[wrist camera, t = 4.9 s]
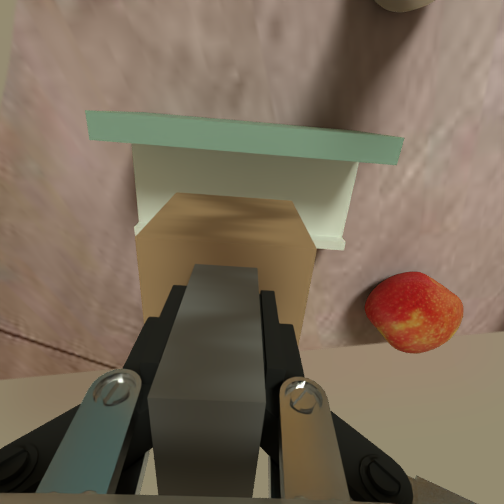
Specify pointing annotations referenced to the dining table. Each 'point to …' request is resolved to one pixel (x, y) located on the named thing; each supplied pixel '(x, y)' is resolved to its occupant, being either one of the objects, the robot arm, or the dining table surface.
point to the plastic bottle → (402, 4)
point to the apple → (414, 312)
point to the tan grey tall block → (217, 331)
